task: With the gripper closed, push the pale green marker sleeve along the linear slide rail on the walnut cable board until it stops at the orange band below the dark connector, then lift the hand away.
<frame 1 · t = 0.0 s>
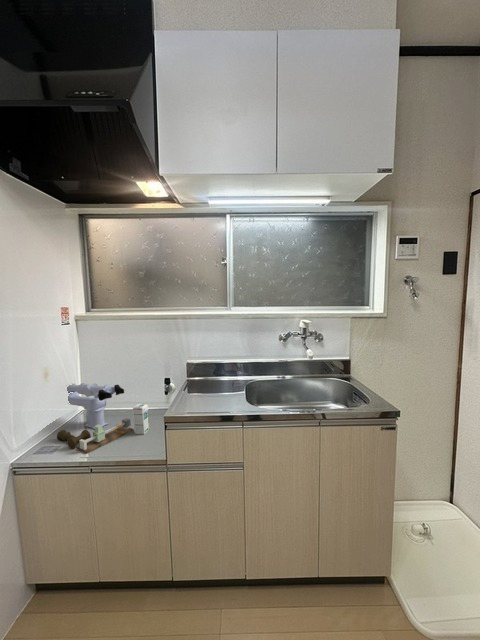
hand: (117, 393, 164), 22 cm above the table, tool horizontal, fingers open, 7 cm apart
syrup box: (142, 432, 168), on the table
linear slide rail: (107, 432, 160), on the cable board, point 3 cm above the table
cable board: (106, 439, 159), on the table
sleeve: (98, 432, 155), point 5 cm above the table, slide at 0.0 cm
kendama: (74, 443, 157), on the table
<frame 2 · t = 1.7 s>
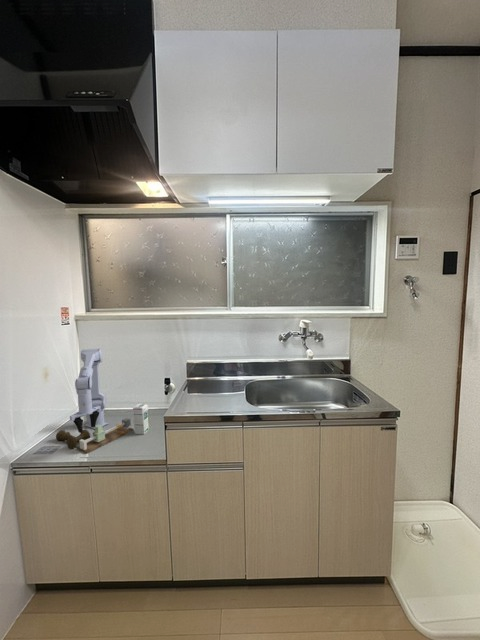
hand: (87, 429, 150), 9 cm above the table, tool pointing down, fingers open, 6 cm apart
nothing on the table moved.
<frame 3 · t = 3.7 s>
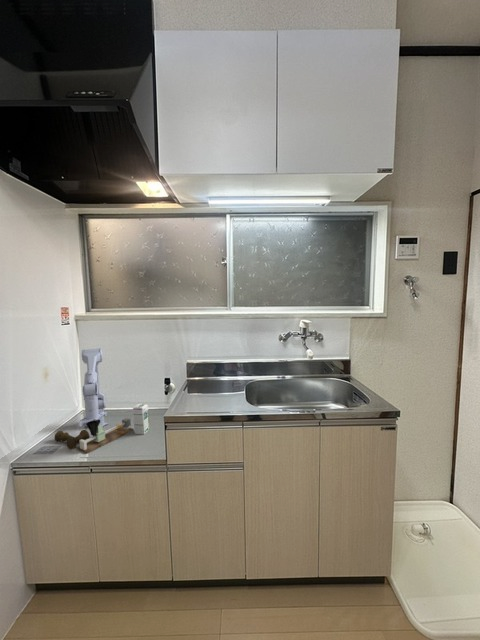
hand: (93, 434, 153), 5 cm above the table, tool pointing down, fingers closed
sleeve: (98, 432, 156), point 5 cm above the table, slide at 0.1 cm, touching gripper
everything else where it was.
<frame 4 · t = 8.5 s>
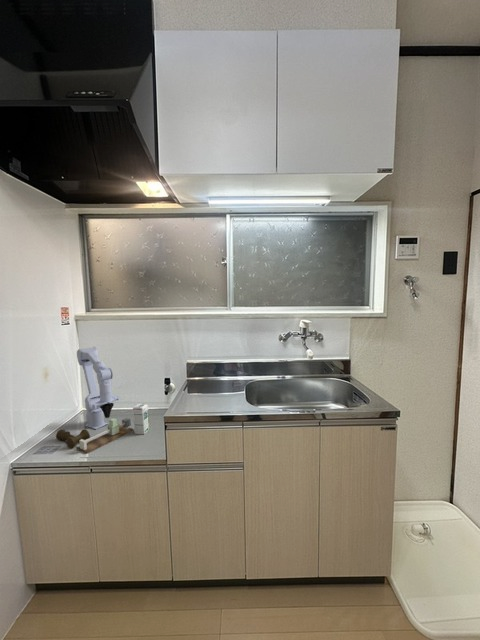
hand: (107, 417, 164), 9 cm above the table, tool pointing down, fingers closed
sleeve: (113, 426, 163), point 5 cm above the table, slide at 8.4 cm
at the end: sleeve slide at 8.4 cm; syrup box moved 0.2 cm from its start; kendama moved 1.0 cm from its start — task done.
